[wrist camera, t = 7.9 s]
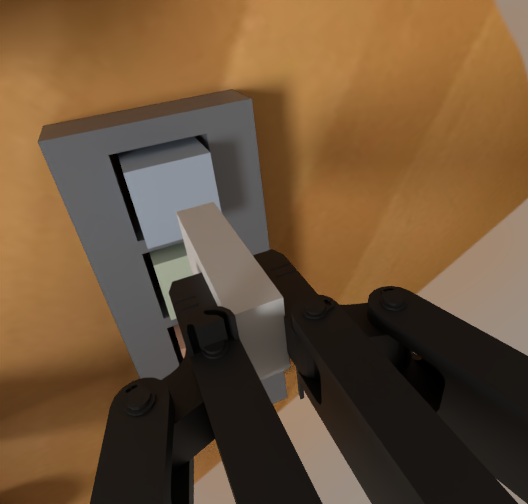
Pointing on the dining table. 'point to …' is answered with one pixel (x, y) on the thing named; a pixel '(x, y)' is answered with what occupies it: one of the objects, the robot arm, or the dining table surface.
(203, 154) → the key slate
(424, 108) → the dining table surface
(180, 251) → the key sage
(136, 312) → the keypad
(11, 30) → the dining table surface
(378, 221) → the dining table surface
